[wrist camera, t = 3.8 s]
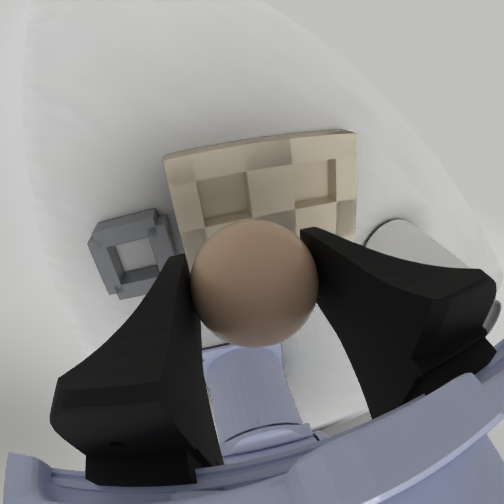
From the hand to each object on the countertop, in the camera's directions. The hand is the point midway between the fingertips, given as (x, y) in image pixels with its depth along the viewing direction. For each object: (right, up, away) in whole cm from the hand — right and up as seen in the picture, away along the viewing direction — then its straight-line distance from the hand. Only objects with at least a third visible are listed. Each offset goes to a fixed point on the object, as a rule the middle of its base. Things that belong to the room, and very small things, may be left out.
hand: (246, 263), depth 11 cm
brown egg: (0, -1, -1) cm, 1 cm away
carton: (+1, +3, +9) cm, 10 cm away
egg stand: (-8, +1, +8) cm, 11 cm away
